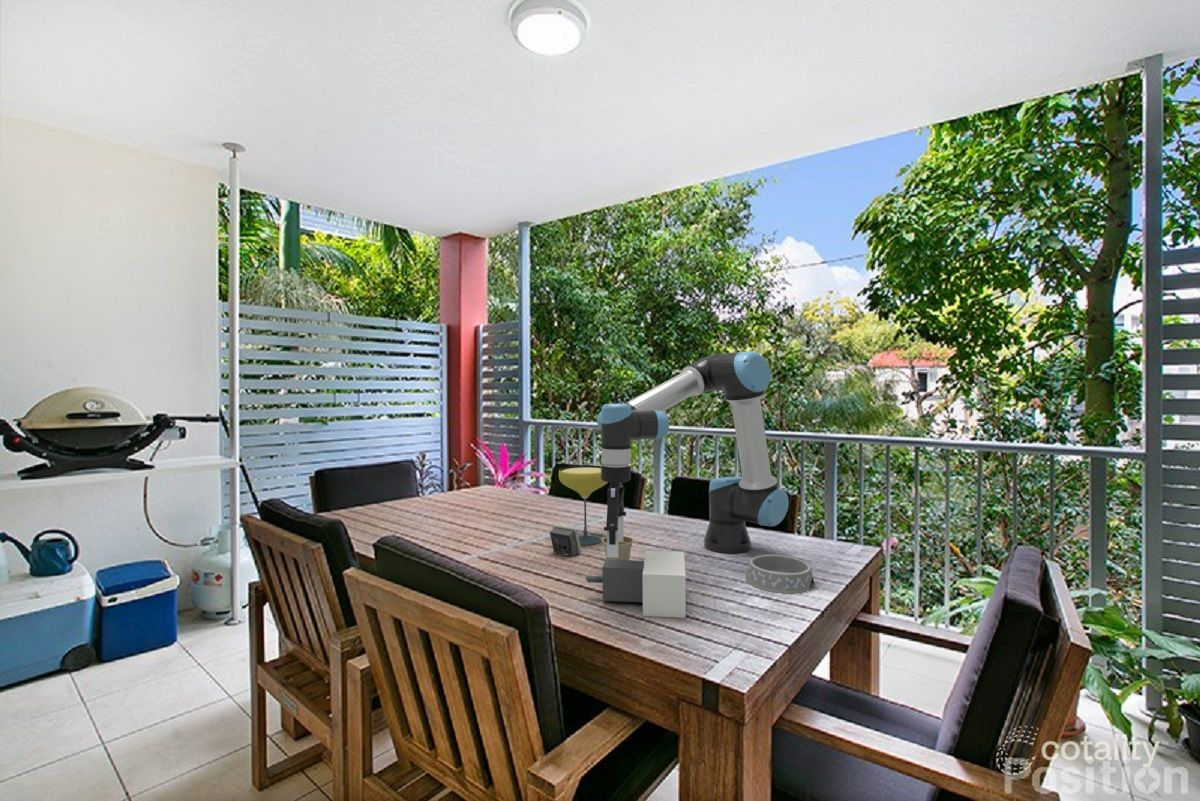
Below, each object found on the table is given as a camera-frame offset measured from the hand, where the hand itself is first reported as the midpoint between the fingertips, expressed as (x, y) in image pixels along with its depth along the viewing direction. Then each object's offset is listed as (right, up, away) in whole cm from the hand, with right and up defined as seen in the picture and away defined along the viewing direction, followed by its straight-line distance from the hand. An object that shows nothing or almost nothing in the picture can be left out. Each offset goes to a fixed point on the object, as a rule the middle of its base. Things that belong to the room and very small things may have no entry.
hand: (615, 548), depth 140 cm
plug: (+3, -12, 0) cm, 13 cm away
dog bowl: (+46, -13, +12) cm, 49 cm away
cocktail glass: (-9, -12, +52) cm, 54 cm away
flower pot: (+1, -13, +24) cm, 27 cm away
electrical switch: (-15, -12, +38) cm, 43 cm away
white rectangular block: (+12, -13, -1) cm, 18 cm away
